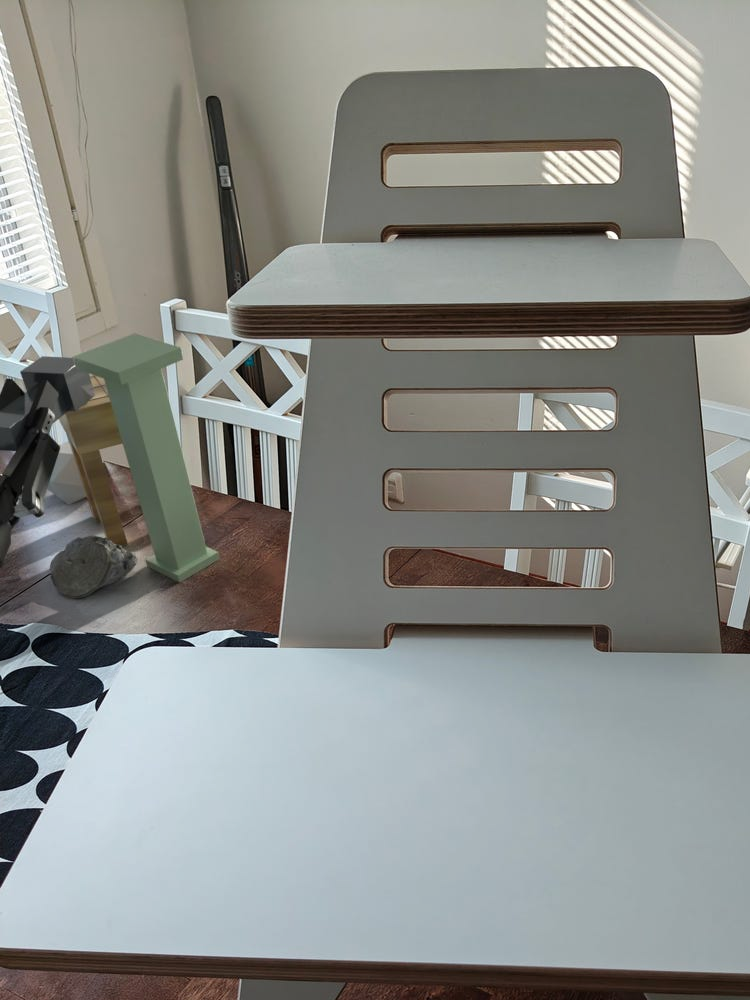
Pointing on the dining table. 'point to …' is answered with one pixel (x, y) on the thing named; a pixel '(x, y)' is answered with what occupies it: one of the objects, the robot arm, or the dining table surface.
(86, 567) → the grey rough chunk
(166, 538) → the shelf stand
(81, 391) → the t-shaped mallet
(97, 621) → the dining table surface
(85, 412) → the go table
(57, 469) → the die
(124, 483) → the dining table surface
